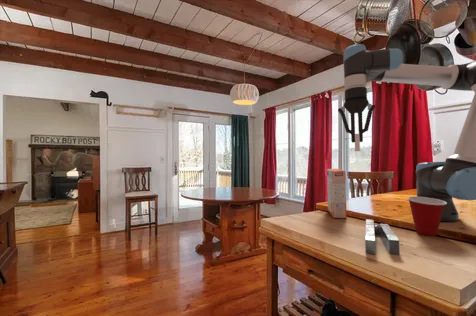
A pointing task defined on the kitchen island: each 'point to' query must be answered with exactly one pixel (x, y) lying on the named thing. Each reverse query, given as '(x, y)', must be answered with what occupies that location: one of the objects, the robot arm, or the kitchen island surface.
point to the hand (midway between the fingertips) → (357, 151)
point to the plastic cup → (426, 214)
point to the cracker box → (336, 192)
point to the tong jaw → (370, 237)
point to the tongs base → (388, 238)
